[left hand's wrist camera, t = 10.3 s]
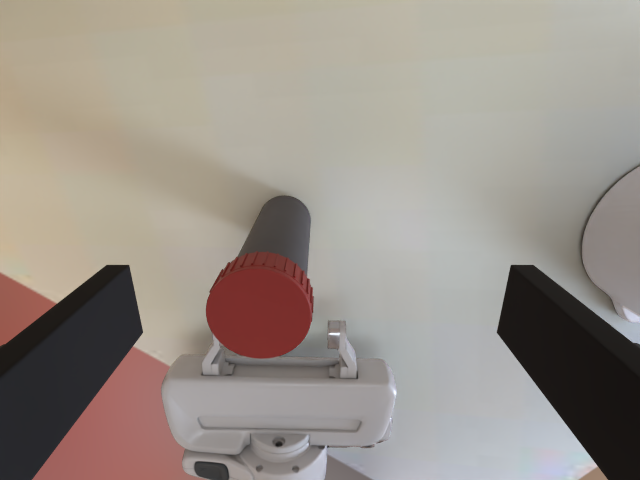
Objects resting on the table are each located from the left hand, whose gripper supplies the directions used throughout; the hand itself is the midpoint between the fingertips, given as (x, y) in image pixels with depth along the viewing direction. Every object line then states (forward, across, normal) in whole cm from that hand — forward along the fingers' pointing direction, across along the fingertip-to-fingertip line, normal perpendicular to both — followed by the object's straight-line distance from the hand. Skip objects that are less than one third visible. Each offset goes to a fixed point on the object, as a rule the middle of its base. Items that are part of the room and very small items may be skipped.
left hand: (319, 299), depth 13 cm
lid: (+5, +3, +4) cm, 7 cm away
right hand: (+15, +3, +11) cm, 18 cm away
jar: (+21, +3, +4) cm, 21 cm away
